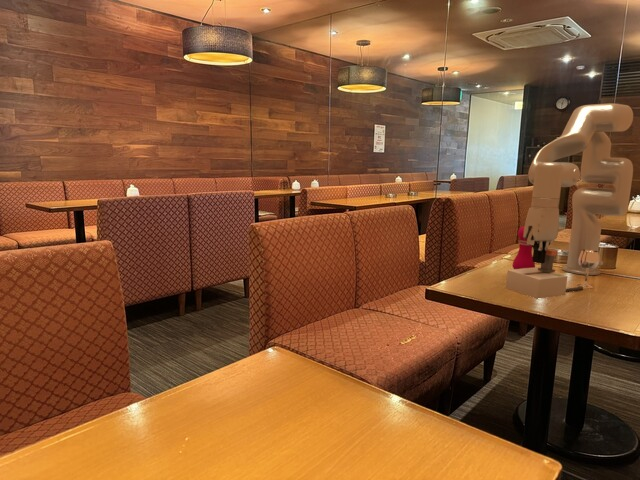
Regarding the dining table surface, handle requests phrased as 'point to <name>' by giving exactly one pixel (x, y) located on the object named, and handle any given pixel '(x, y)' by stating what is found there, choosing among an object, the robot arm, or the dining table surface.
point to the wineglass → (588, 263)
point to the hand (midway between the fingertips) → (538, 262)
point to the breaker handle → (548, 261)
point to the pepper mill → (523, 253)
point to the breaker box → (538, 283)
